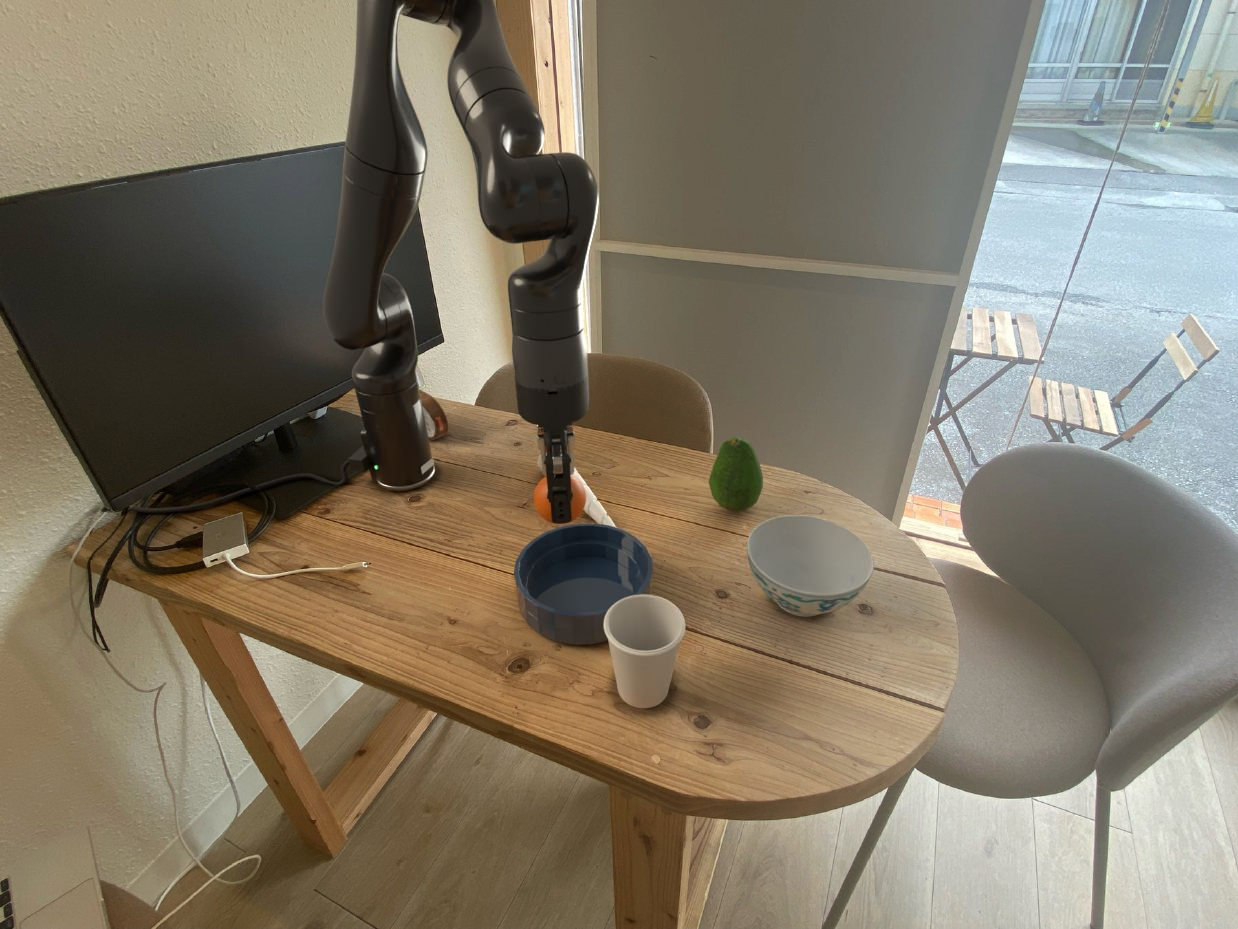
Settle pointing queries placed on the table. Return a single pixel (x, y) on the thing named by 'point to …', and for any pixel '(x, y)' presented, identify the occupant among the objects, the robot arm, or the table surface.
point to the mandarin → (545, 506)
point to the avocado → (736, 475)
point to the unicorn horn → (590, 502)
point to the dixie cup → (644, 647)
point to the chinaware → (808, 563)
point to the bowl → (579, 579)
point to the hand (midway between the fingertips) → (560, 504)
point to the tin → (433, 416)
